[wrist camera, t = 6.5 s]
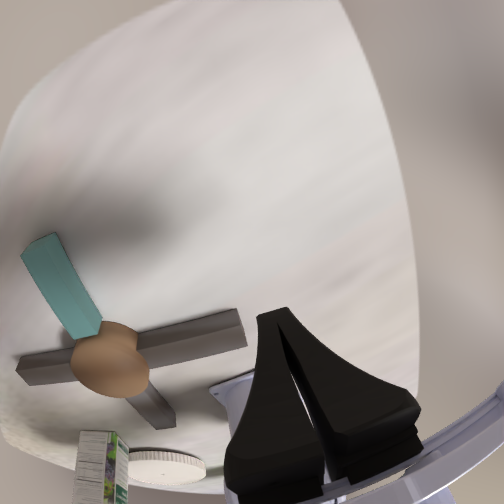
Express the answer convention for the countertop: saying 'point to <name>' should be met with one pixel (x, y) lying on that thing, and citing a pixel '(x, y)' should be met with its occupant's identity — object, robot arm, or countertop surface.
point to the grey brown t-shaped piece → (135, 360)
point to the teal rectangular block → (62, 286)
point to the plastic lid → (165, 468)
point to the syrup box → (101, 469)
